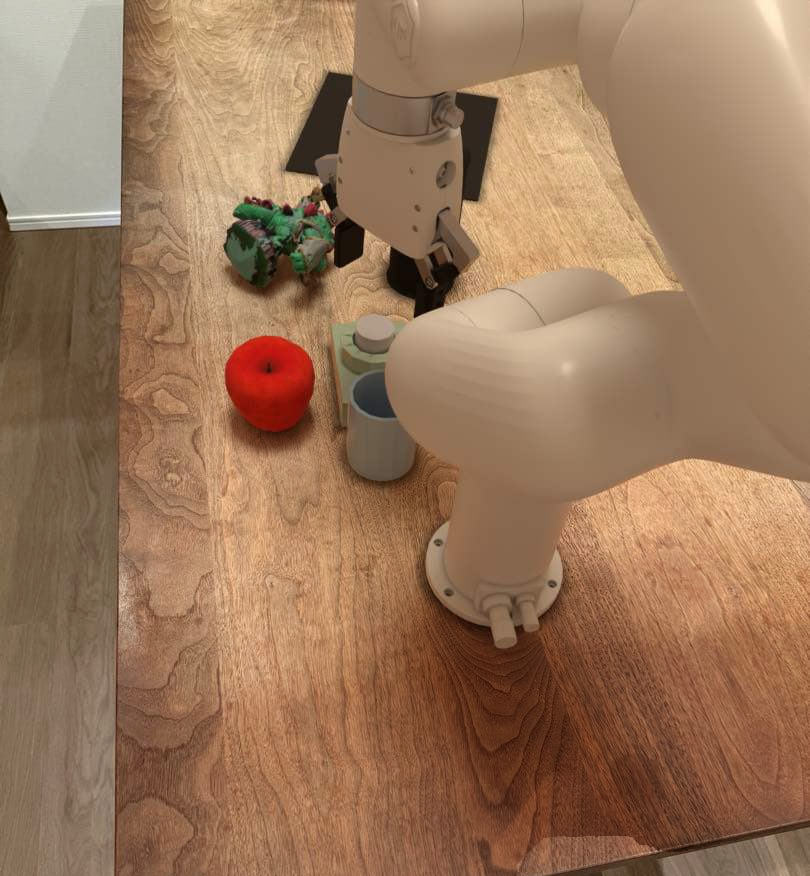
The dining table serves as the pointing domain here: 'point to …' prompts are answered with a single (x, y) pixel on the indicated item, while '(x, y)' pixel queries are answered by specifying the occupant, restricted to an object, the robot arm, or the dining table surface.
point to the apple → (270, 382)
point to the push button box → (351, 361)
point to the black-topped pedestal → (329, 116)
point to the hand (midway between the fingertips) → (387, 287)
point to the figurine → (279, 238)
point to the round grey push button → (374, 334)
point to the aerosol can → (403, 267)
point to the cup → (376, 431)
